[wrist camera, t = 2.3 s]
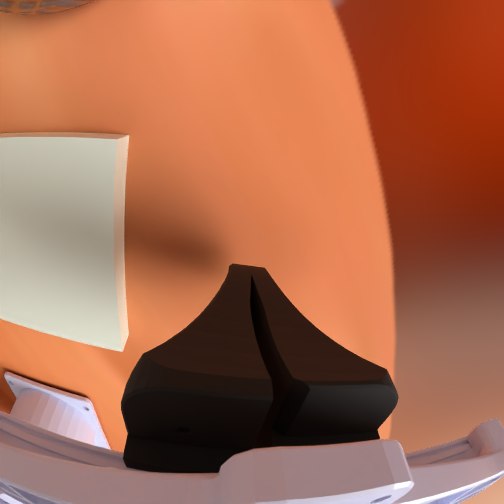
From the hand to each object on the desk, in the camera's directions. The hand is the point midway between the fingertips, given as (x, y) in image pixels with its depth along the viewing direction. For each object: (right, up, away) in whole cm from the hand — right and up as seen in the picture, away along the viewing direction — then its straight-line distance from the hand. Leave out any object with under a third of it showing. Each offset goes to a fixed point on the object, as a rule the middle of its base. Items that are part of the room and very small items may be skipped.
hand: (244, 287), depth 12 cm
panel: (-10, +2, +1) cm, 10 cm away
